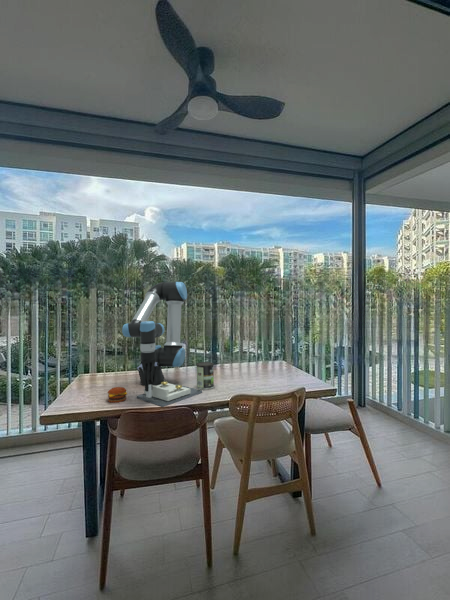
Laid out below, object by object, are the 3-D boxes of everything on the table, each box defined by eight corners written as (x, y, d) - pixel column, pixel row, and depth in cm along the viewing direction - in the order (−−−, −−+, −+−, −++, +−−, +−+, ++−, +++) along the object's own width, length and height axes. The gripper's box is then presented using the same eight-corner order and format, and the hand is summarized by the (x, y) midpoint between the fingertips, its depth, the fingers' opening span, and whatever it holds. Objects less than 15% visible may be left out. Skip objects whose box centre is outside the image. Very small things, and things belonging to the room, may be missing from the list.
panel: (144, 393, 167) (143, 383, 167) (166, 386, 179) (166, 377, 179) (167, 401, 154) (167, 390, 154) (190, 393, 166) (190, 383, 166)
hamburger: (110, 404, 155) (109, 391, 155) (106, 399, 163) (106, 387, 163) (128, 400, 160) (128, 388, 160) (124, 396, 168) (124, 384, 168)
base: (136, 398, 164) (136, 386, 164) (176, 385, 186) (175, 375, 186) (162, 406, 150) (162, 394, 150) (202, 392, 172) (202, 381, 172)
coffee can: (215, 385, 187) (215, 362, 186) (211, 390, 176) (211, 365, 176) (199, 384, 189) (199, 361, 188) (194, 389, 179) (194, 365, 178)
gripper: (141, 354, 149) (142, 401, 150) (162, 350, 159) (163, 395, 160) (132, 352, 154) (133, 398, 155) (153, 348, 164) (154, 392, 165)
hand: (148, 396), depth 157 cm, fingers closed
